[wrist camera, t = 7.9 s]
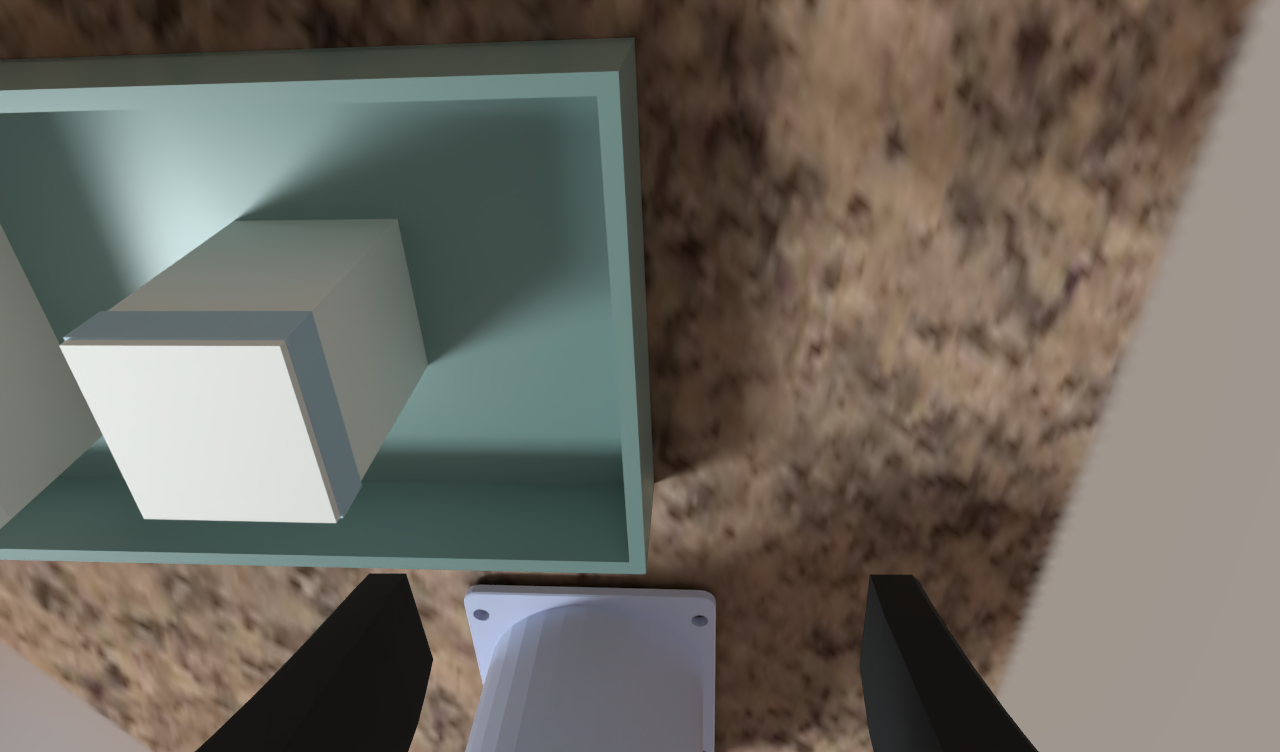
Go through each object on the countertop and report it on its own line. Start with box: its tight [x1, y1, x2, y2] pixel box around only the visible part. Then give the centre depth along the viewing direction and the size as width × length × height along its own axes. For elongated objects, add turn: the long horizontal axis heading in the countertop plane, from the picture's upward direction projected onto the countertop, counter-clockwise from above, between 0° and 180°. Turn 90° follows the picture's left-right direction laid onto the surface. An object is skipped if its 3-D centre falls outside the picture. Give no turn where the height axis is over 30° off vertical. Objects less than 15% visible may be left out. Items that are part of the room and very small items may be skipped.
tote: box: [0, 37, 654, 574], centre depth 19 cm, size 12×22×4 cm, turn 93°
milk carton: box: [59, 219, 428, 523], centre depth 17 cm, size 4×4×6 cm
